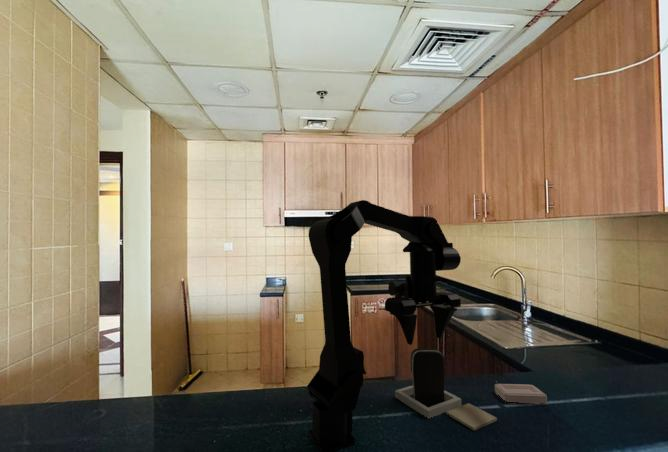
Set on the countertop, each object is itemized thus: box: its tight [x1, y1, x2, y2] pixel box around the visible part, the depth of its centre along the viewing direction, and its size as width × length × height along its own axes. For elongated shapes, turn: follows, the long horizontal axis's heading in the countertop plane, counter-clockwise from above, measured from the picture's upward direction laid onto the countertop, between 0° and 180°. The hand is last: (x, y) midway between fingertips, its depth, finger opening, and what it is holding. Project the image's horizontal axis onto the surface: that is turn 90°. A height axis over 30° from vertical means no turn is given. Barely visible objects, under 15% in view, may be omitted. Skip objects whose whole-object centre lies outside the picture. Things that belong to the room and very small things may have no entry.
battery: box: [410, 347, 446, 406], centre depth 67 cm, size 7×4×11 cm, turn 91°
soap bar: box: [494, 383, 548, 405], centre depth 68 cm, size 5×9×2 cm, turn 87°
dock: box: [394, 384, 463, 420], centre depth 66 cm, size 10×10×2 cm
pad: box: [445, 402, 498, 431], centre depth 60 cm, size 7×6×1 cm
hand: (424, 341), depth 67 cm, fingers open, 9 cm apart
